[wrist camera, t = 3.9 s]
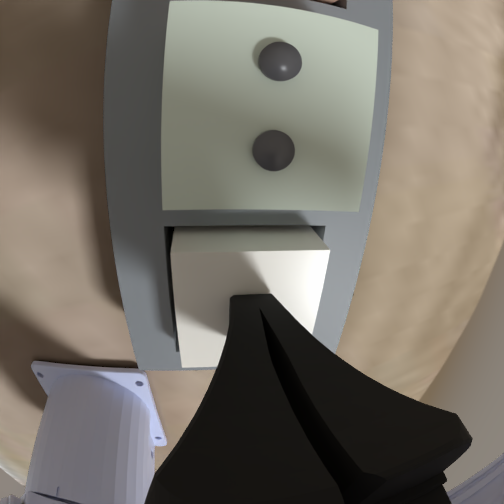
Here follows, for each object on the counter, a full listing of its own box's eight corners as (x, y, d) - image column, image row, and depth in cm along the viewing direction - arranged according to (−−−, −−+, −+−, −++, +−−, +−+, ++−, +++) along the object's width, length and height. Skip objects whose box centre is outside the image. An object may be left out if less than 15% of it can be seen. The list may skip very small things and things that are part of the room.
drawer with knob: (282, 301, 15) (307, 362, 11) (183, 304, 14) (182, 371, 10) (293, 207, 13) (332, 252, 9) (178, 207, 12) (170, 255, 8)
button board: (314, 319, 16) (333, 357, 14) (145, 327, 15) (139, 370, 12) (352, -71, 7) (383, -95, 4) (155, -93, 5) (148, -127, 3)
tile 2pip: (308, 175, 11) (362, 214, 7) (175, 172, 10) (161, 213, 6) (319, 50, 9) (382, 28, 5) (180, 38, 8) (169, -2, 4)
